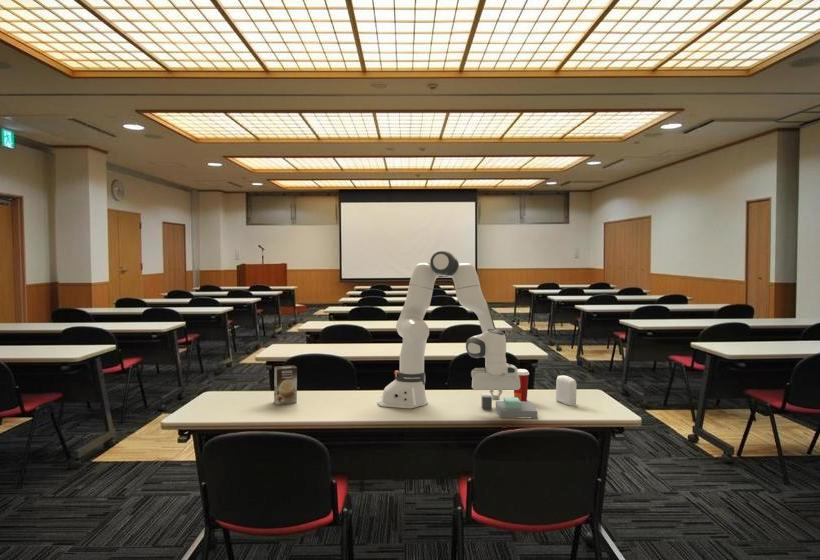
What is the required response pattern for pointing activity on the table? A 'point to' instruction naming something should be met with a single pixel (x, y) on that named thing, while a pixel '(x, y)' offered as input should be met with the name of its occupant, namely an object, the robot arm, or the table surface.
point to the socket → (516, 410)
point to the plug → (486, 401)
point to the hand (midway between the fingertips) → (495, 399)
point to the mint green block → (512, 403)
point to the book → (566, 390)
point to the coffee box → (285, 385)
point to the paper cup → (522, 385)
